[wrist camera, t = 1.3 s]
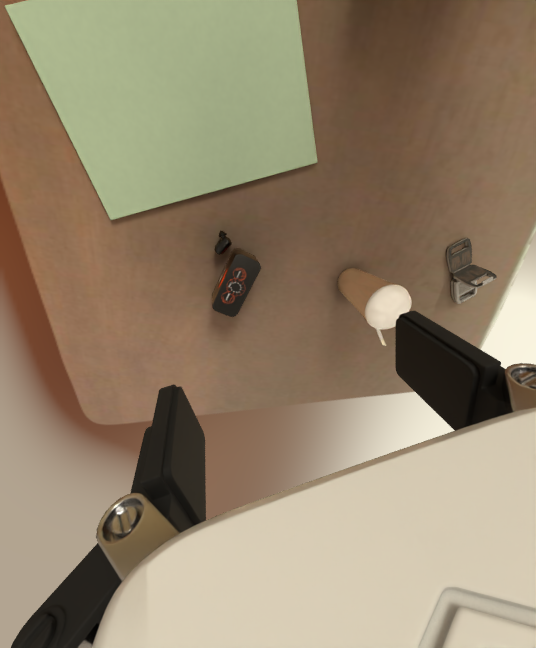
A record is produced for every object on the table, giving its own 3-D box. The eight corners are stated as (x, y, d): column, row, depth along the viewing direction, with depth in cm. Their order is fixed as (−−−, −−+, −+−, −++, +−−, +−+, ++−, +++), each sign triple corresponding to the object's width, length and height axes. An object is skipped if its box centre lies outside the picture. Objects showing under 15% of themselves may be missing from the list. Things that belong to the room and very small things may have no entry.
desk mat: (7, 8, 19) (4, 5, 19) (287, -56, 20) (289, -60, 20) (111, 219, 26) (110, 220, 26) (316, 162, 27) (317, 162, 27)
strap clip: (472, 292, 38) (501, 305, 35) (452, 303, 38) (478, 316, 35) (467, 235, 34) (499, 242, 30) (444, 247, 34) (473, 256, 31)
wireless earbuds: (260, 249, 30) (266, 256, 27) (232, 306, 32) (235, 318, 29) (220, 229, 28) (222, 234, 25) (193, 290, 30) (192, 302, 28)
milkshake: (323, 299, 34) (364, 341, 25) (341, 257, 32) (392, 287, 23) (354, 307, 36) (403, 350, 27) (373, 267, 34) (433, 299, 25)
